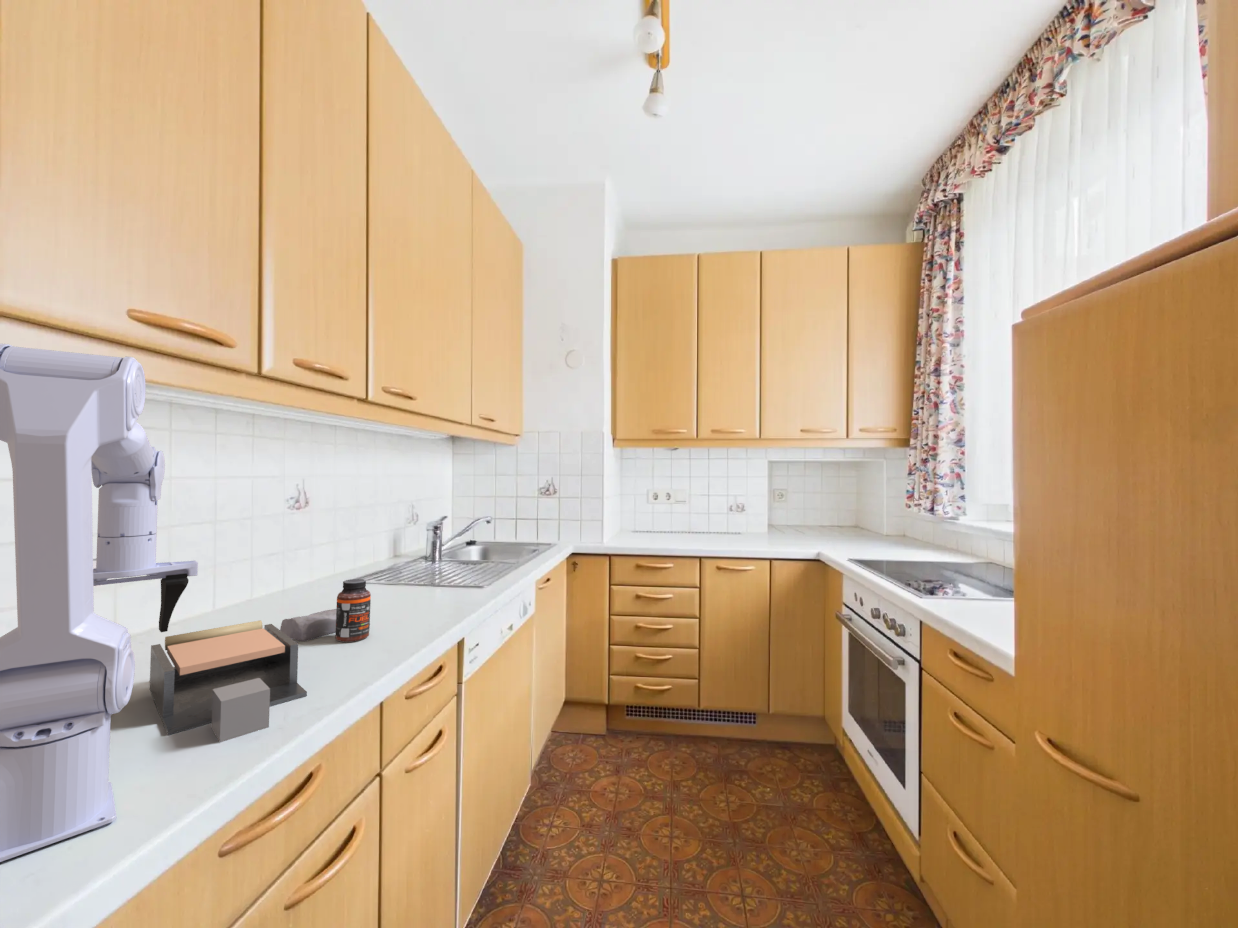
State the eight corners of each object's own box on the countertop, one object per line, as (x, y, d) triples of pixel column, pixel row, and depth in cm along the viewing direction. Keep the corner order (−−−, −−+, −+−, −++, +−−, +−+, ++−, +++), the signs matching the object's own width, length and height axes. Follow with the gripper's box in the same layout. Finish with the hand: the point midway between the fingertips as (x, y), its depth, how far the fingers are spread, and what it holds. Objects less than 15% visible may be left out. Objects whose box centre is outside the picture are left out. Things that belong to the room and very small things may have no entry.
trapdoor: (179, 675, 67) (180, 660, 67) (164, 648, 76) (164, 635, 76) (284, 652, 76) (285, 638, 76) (259, 630, 85) (259, 619, 85)
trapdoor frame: (167, 735, 62) (169, 682, 62) (149, 689, 75) (150, 645, 75) (306, 695, 73) (307, 651, 73) (270, 661, 86) (271, 623, 86)
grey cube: (219, 743, 61) (221, 701, 61) (211, 728, 64) (212, 689, 64) (268, 727, 64) (270, 688, 64) (258, 714, 68) (259, 677, 68)
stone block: (274, 644, 100) (304, 642, 96) (272, 620, 101) (302, 617, 96) (331, 630, 111) (361, 628, 106) (330, 608, 111) (359, 605, 107)
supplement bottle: (348, 645, 95) (350, 585, 95) (328, 640, 97) (329, 581, 98) (376, 636, 100) (377, 579, 100) (356, 631, 103) (357, 576, 103)
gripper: (192, 528, 75) (190, 619, 75) (46, 536, 65) (42, 642, 64) (201, 532, 71) (198, 629, 70) (45, 542, 60) (41, 656, 60)
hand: (124, 636), depth 67 cm, fingers open, 7 cm apart
